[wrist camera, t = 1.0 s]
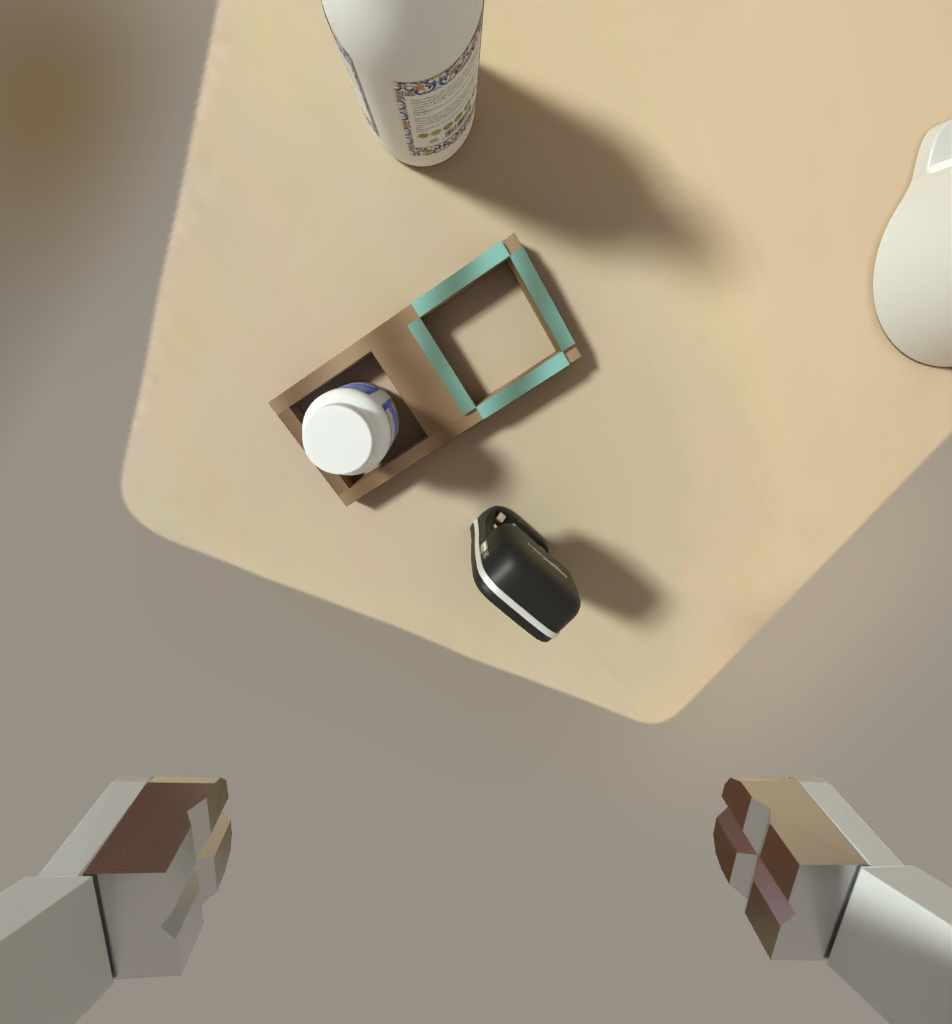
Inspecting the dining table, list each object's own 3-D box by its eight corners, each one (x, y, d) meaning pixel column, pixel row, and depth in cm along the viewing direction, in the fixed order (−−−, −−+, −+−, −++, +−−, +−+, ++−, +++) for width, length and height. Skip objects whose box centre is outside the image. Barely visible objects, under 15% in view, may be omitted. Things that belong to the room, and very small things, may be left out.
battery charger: (561, 545, 42) (597, 614, 31) (528, 577, 43) (553, 655, 32) (498, 490, 40) (514, 542, 30) (466, 524, 41) (469, 587, 30)
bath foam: (494, 78, 32) (549, -308, 13) (445, 190, 34) (432, -9, 15) (392, 13, 31) (293, -513, 12) (348, 133, 33) (198, -163, 14)
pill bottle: (312, 422, 38) (267, 445, 29) (357, 365, 37) (325, 371, 28) (371, 468, 40) (345, 506, 30) (416, 415, 38) (403, 436, 29)
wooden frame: (511, 238, 35) (515, 231, 33) (574, 355, 38) (582, 356, 35) (277, 399, 38) (266, 403, 36) (351, 499, 40) (345, 507, 38)
